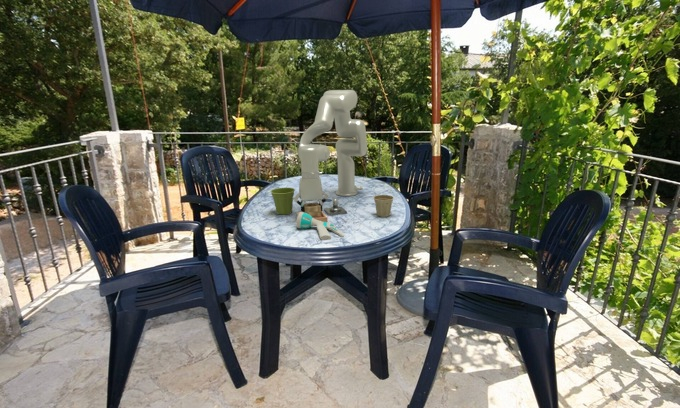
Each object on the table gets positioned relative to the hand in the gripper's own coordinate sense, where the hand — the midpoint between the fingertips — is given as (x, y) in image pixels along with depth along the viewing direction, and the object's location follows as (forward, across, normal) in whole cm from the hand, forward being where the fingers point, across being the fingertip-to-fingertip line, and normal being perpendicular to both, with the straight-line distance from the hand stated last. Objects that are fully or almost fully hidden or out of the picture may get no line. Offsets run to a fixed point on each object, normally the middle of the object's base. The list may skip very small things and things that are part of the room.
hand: (311, 213), depth 159 cm
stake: (+3, -13, -7) cm, 15 cm away
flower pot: (+3, -33, +5) cm, 34 cm away
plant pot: (+3, +11, -14) cm, 18 cm away
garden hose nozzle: (+3, 0, +16) cm, 16 cm away
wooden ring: (0, 0, 0) cm, 0 cm away
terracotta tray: (+3, 0, 0) cm, 3 cm away
